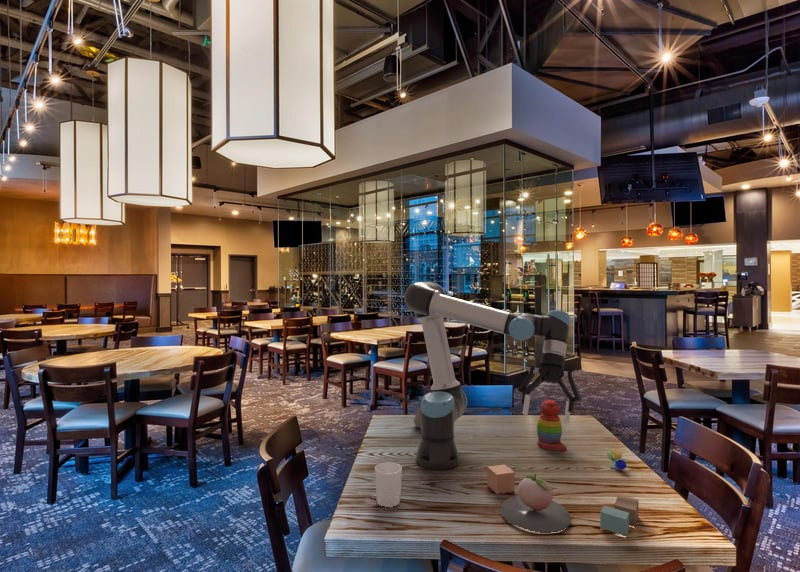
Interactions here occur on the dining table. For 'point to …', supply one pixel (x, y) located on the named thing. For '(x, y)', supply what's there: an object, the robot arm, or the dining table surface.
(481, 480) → the dining table surface
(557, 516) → the slate plate
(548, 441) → the stacking bear
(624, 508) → the walnut block
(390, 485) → the white cup
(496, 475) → the terracotta block
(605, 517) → the teal block
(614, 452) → the dice
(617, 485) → the dining table surface
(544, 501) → the decorative fruit
